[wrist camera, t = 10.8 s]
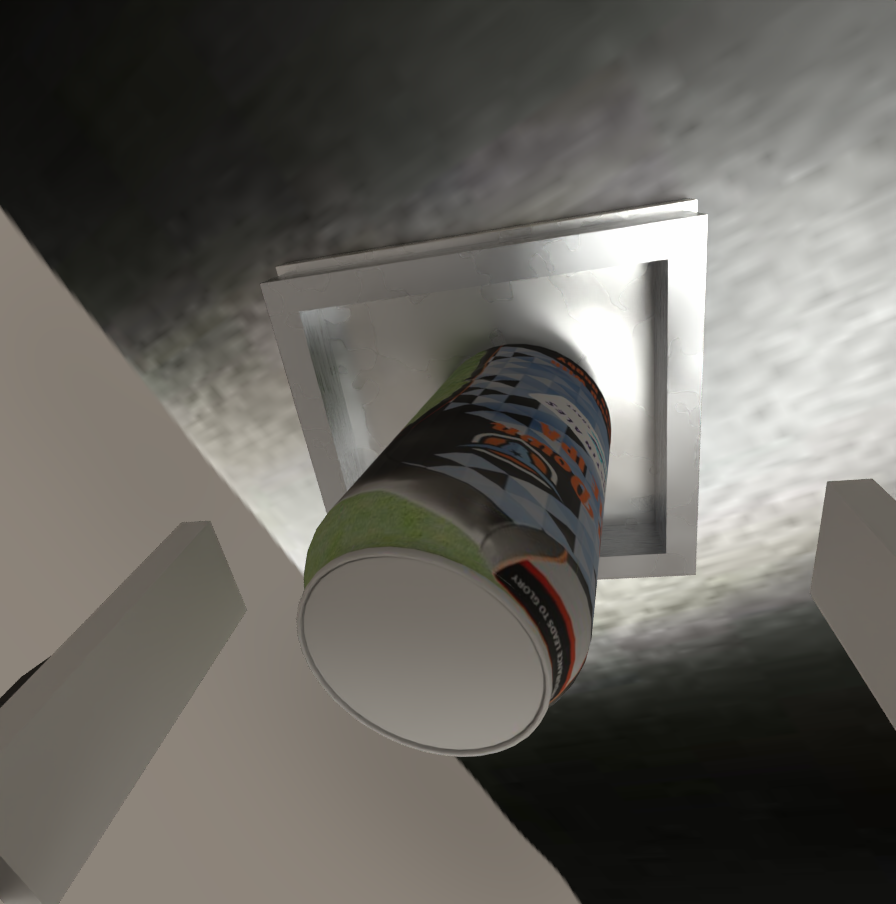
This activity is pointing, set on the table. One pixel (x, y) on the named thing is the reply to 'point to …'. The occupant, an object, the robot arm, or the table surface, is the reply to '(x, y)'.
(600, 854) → the table surface
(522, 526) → the beverage can
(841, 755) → the table surface
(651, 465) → the tray
